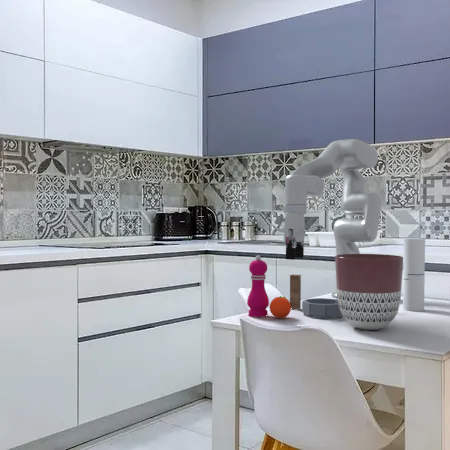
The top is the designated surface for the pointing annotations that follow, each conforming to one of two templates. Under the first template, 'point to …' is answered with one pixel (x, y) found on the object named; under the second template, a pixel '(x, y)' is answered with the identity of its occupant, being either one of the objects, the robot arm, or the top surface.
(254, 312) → the pepper mill
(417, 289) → the cylindrical container
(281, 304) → the clementine
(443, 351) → the top surface
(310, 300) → the grey faceted bowl
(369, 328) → the planter
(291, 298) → the brown wooden block
